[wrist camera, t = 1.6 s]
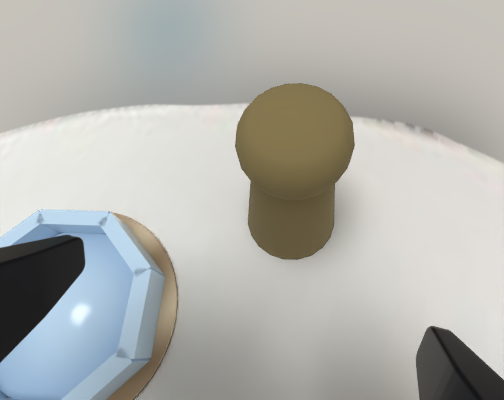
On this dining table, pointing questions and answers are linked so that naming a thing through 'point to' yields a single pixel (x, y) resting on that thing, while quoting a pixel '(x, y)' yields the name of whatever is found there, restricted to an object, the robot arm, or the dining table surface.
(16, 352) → the bowl
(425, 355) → the robot arm
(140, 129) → the dining table surface
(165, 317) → the placemat
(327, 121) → the cork
